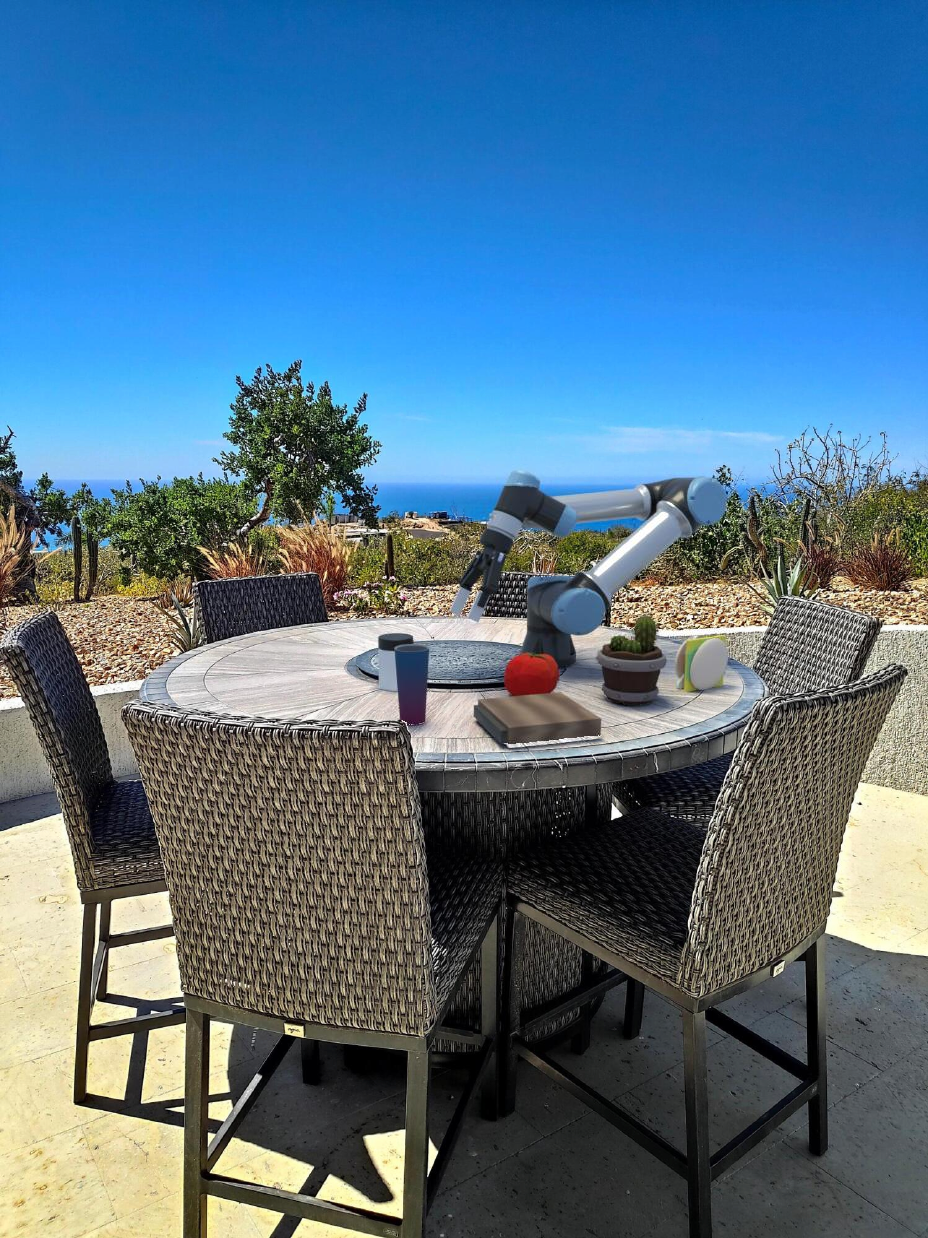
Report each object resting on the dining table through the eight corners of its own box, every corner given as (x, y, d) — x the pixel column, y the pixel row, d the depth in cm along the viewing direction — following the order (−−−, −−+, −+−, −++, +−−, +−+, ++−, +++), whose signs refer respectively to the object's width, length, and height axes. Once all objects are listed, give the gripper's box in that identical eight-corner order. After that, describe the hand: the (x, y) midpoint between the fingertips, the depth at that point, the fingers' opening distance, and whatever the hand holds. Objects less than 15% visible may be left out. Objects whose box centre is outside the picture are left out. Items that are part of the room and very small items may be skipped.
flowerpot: (615, 712, 148) (619, 617, 144) (584, 692, 162) (587, 605, 159) (678, 707, 152) (683, 614, 148) (641, 688, 166) (645, 603, 163)
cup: (395, 716, 145) (394, 644, 142) (429, 715, 146) (428, 643, 143) (395, 727, 138) (394, 652, 136) (430, 726, 139) (429, 651, 136)
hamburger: (702, 679, 174) (705, 631, 172) (730, 687, 167) (734, 637, 165) (666, 685, 168) (669, 636, 166) (693, 694, 161) (697, 642, 159)
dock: (560, 710, 149) (560, 692, 148) (600, 739, 132) (601, 718, 131) (472, 719, 144) (472, 699, 143) (502, 749, 127) (503, 728, 126)
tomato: (495, 693, 162) (495, 649, 160) (545, 688, 166) (546, 645, 164) (515, 707, 151) (516, 660, 150) (568, 701, 156) (569, 655, 154)
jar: (387, 693, 161) (386, 641, 159) (371, 685, 168) (370, 635, 166) (421, 687, 166) (421, 637, 164) (404, 680, 173) (404, 631, 171)
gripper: (469, 527, 178) (434, 605, 177) (506, 526, 154) (466, 615, 153) (494, 540, 180) (460, 617, 179) (535, 541, 157) (495, 629, 156)
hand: (463, 616), depth 166 cm, fingers open, 13 cm apart
